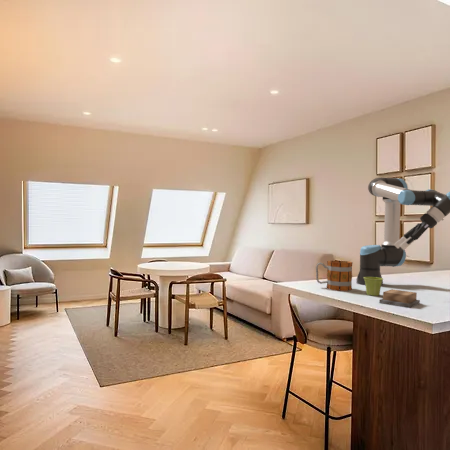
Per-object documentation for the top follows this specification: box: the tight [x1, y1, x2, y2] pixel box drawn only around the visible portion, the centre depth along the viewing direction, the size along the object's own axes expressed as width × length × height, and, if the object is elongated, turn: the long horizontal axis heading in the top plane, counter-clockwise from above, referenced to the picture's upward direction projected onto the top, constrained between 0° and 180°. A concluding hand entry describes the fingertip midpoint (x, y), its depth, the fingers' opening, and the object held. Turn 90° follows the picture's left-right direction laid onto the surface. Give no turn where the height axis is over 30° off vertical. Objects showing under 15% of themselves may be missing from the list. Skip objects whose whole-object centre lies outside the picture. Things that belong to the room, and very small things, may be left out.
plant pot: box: [364, 277, 384, 297], centre depth 197 cm, size 9×9×9 cm
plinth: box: [378, 288, 421, 308], centre depth 177 cm, size 13×14×5 cm
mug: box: [315, 260, 353, 292], centre depth 214 cm, size 20×14×15 cm
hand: (398, 247), depth 194 cm, fingers open, 13 cm apart
